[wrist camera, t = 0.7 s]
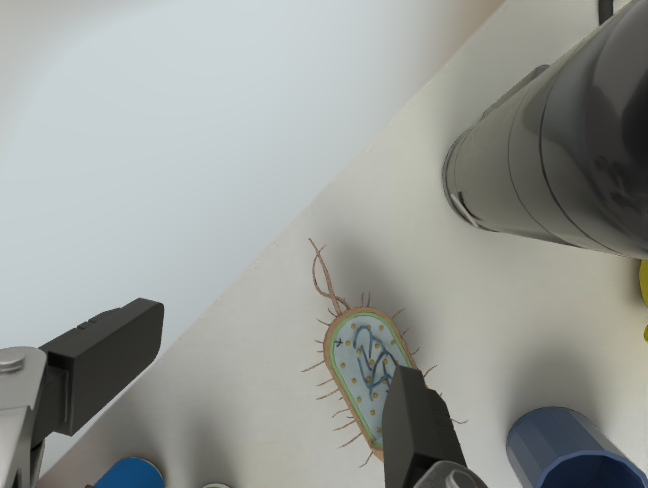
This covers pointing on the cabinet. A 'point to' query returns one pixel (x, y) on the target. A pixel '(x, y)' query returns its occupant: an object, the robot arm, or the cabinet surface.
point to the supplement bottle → (216, 486)
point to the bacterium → (363, 362)
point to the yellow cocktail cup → (644, 288)
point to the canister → (567, 453)
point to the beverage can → (132, 475)
